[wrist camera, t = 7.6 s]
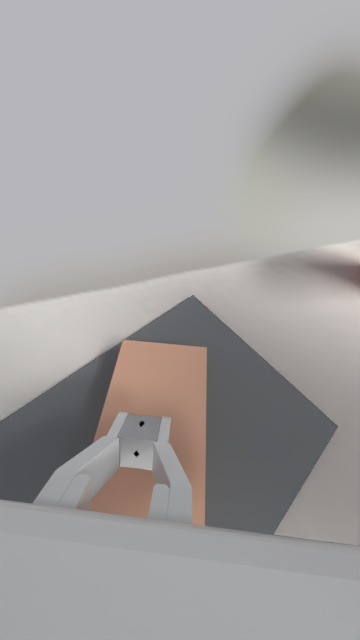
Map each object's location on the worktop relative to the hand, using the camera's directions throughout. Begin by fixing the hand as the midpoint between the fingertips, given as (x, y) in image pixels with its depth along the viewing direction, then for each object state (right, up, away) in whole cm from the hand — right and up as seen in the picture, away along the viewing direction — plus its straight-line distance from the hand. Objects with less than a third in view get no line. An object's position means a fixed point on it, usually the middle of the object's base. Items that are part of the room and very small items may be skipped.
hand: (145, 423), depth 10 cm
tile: (-1, -7, +1) cm, 7 cm away
